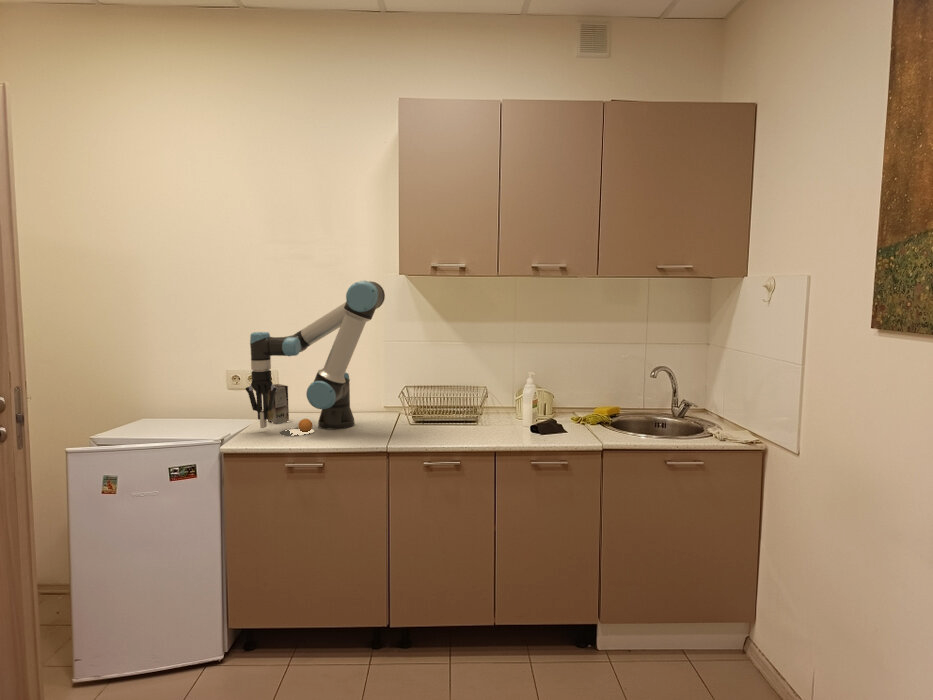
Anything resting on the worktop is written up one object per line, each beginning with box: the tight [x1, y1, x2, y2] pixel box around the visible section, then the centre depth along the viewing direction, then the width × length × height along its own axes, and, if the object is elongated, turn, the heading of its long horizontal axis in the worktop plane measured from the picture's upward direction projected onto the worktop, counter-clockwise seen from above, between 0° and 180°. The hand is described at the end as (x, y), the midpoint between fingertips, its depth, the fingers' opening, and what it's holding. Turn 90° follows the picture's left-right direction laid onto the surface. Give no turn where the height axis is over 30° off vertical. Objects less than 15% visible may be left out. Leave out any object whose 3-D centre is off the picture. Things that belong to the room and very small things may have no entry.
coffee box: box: [266, 383, 290, 424], centre depth 257 cm, size 9×6×16 cm
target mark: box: [279, 428, 311, 437], centre depth 238 cm, size 14×14×1 cm
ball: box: [297, 418, 313, 432], centre depth 238 cm, size 6×6×6 cm
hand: (263, 427), depth 238 cm, fingers closed
